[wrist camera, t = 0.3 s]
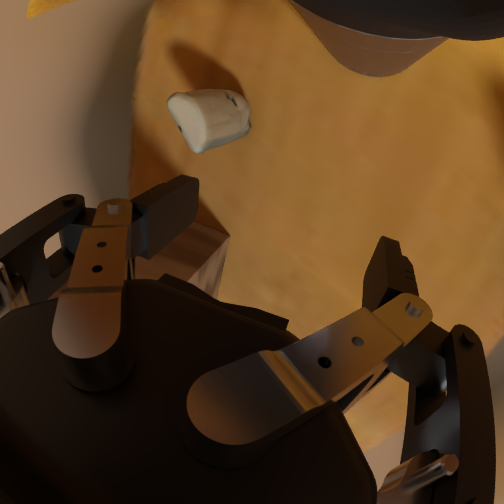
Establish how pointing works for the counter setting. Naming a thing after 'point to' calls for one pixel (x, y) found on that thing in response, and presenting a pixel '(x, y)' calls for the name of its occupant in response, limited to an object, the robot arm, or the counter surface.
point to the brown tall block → (186, 259)
